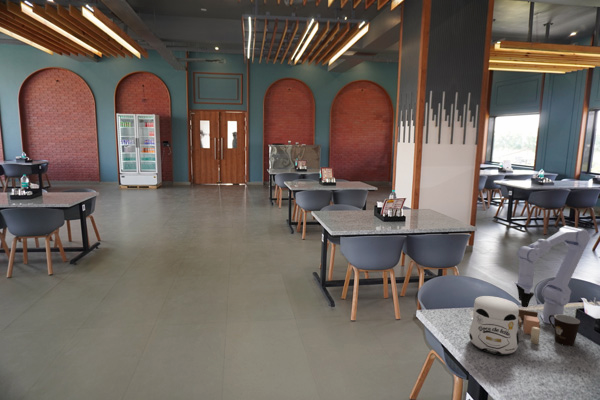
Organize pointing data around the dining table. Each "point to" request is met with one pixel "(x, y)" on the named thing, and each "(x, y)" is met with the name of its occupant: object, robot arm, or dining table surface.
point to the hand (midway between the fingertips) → (523, 303)
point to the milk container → (495, 325)
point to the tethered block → (532, 328)
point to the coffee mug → (565, 329)
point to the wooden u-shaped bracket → (527, 313)
